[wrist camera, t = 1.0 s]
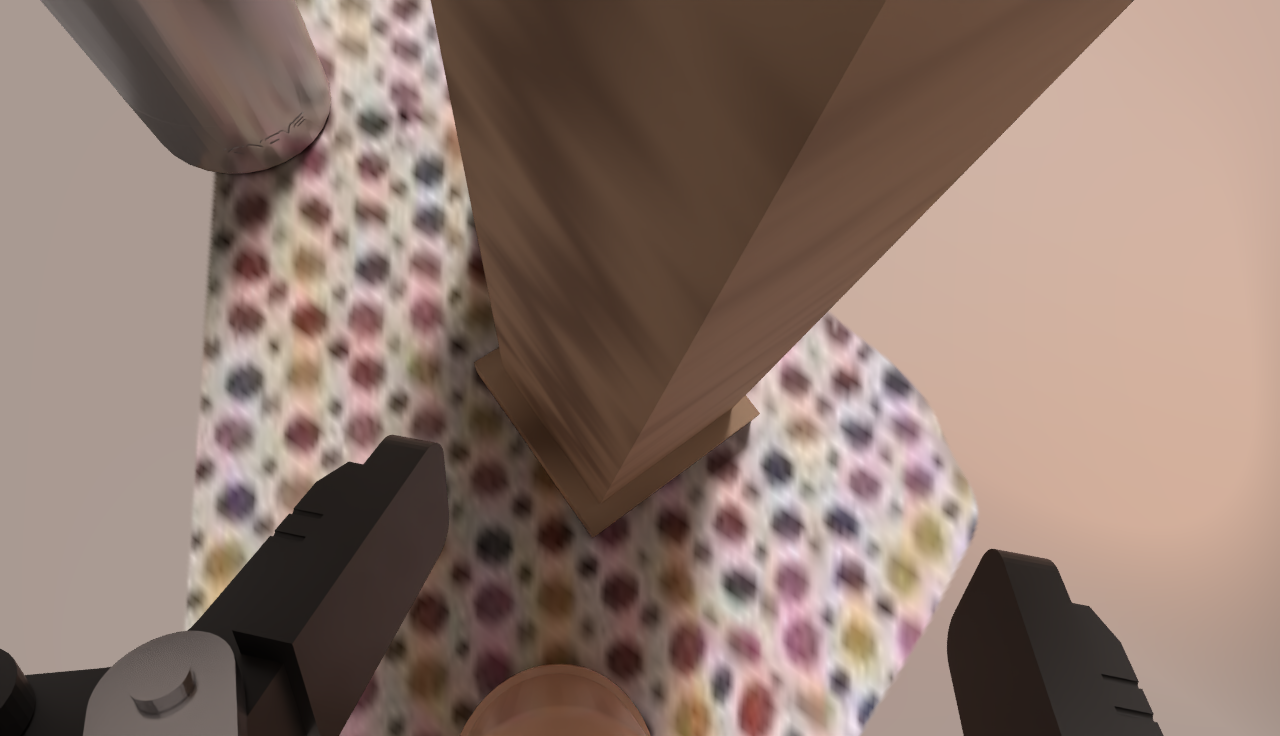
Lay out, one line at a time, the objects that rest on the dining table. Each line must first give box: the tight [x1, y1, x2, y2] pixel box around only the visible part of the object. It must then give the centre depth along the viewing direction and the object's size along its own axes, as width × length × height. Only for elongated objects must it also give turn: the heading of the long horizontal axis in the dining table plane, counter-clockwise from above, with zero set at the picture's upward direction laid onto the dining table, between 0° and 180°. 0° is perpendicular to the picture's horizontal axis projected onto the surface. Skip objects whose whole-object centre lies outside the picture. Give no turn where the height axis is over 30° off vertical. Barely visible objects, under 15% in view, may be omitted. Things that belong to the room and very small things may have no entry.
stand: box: [431, 0, 1134, 538], centre depth 20 cm, size 10×10×33 cm
